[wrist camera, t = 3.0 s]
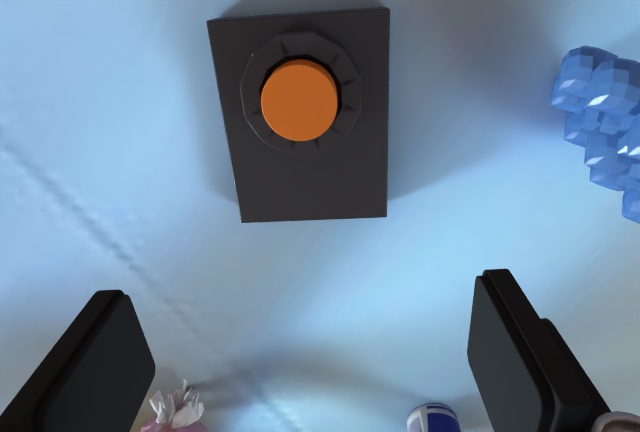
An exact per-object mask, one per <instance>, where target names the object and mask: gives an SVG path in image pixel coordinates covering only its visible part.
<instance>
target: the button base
mask: <svg viewBox="0 0 640 432" xmlns="http://www.w3.org/2000/svg"><path fill="white" fill-rule="evenodd" d="M207 28H208V34H209V39H210V45H211V51H212V57H213V62H214V68H215V74H216V80H217V85H218V91H219V97H220V103H221V108H222V114H223V120H224V126H225V131H226V137H227V143H228V149H229V155H230V160H231V166H232V172H233V178H234V183H235V189H236V195H237V201H238V206H239V212H240V218H241V222H242V223H250V222H275V221H301V220H326V219H352V218H378V217H387V172H388V105H389V38H390V9H389V8H386V7H378V8H363V9H348V10H334V11H319V12H304V13H289V14H275V15H260V16H245V17H230V18H216V19H212V20H208V21H207ZM297 59H304V60H310V61H313V62H315V63H317V64H319V65H321V66H322V67H323V68H324V69H326V70H327V72H328V73H329V74H330V75H331V77H332V79H333V80H334V83H335V85H336V89H337V112H336V115H335V118H334V120H333V122H332V124H331V126H330V127H329V128H328V129H327V130H326V131H325V132H324V133H323V134H321V135H320V136H318V137H316V138H314V139H311V140H307V141H294V140H290V139H287V138H284V137H282V136H281V135H279V134H278V133H276V132H275V131H274V130H273V129H272V128H271V127H270V126H269V124H268V123H267V121H266V119H265V117H264V115H263V112H262V107H261V96H262V91H263V88H264V86H265V84H266V82H267V80H268V79H269V78H270V76H271V75H272V73H273V72H274V71H275V70H276V69H277V68H278V67H279V66H281V65H282V64H284V63H286V62H288V61H291V60H297Z"/></svg>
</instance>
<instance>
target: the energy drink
mask: <svg viewBox="0 0 640 432" xmlns="http://www.w3.org/2000/svg"><path fill="white" fill-rule="evenodd" d="M407 430H408V432H461V430H460V427H459V423H458V420H457V416H456V415H455V413H454V412H453V411H452V410H451V409H449V408H447V407H445V406H443V405H439V404H427V405H423V406H420V407H418V408H416V409H415V410H413V411H412V412H411V414H410V415H409V416H408V418H407Z"/></svg>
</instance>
